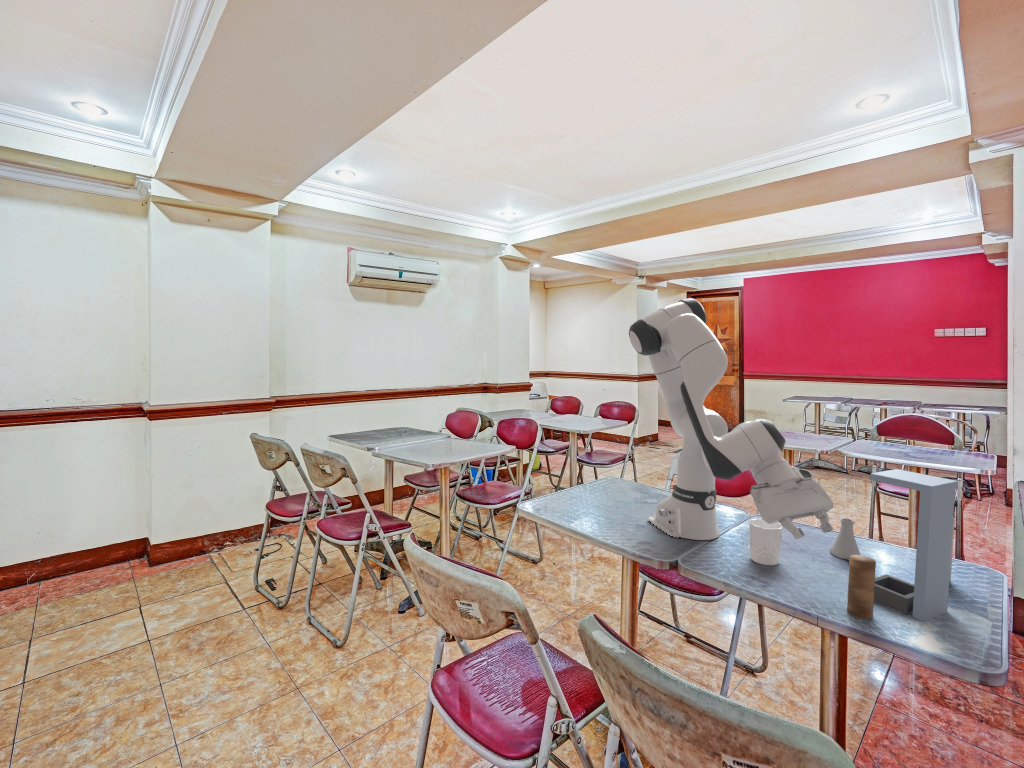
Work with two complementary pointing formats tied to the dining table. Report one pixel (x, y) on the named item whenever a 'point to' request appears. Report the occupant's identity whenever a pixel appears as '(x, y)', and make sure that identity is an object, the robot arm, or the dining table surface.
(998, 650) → the dining table surface
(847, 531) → the flask
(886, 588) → the socket
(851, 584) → the peg
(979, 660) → the dining table surface
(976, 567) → the dining table surface
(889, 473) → the awning
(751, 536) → the white cup
